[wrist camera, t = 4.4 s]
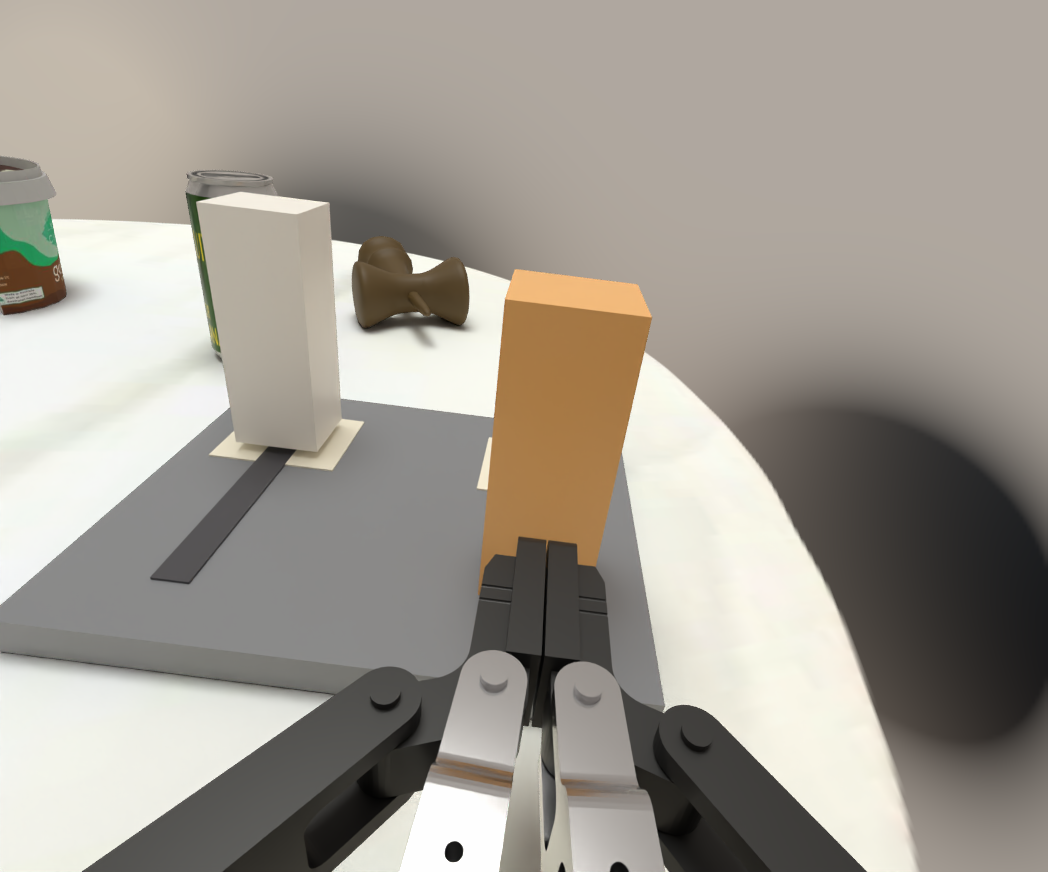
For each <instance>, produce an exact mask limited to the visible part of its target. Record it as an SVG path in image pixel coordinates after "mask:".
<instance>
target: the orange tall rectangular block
mask: <svg viewBox="0 0 1048 872" xmlns="http://www.w3.org/2000/svg"><path fill="white" fill-rule="evenodd" d="M651 320H652V316H651V314H650V312H649V310H648V307H647V305H646V303H645V300H644V298H643V296H642V293H641V291H640V289H639V287H638V285H637V284H630V283H622V282H614V281H605V280H598V279H590V278H582V277H574V276H566V275H557V274H550V273H542V272H533V271H526V270H517V269H515V271H514V274H513V277H512V280H511V283H510V286H509V289H508V292H507V295H506V298H505V305H504V316H503V327H502V337H501V348H500V359H499V370H498V381H497V392H496V402H495V413H494V424H493V435H492V446H491V456H490V467H489V478H488V489H487V500H486V511H485V521H484V532H483V543H482V554H481V565H480V576H479V586H478V595H480V591H481V586H482V579H483V574H484V568H485V566H486V565H487V564H488V563H489V561H490V560H491V559H492V558H493V557H494V555H495V554H499V555H507V556H515V557H516V551H517V544H518V537H519V536H520V537H528V538H536V539H544V540H546V550H547V544H548V540H553V541H561V542H569V543H576V544H577V555H578V564H579V565H587V566H595V567H596V563H597V559H598V554H599V550H600V546H601V541H602V537H603V532H604V528H605V523H606V519H607V515H608V510H609V506H610V501H611V497H612V492H613V488H614V484H615V479H616V475H617V470H618V466H619V461H620V457H621V453H622V448H623V444H624V439H625V435H626V430H627V426H628V422H629V417H630V413H631V408H632V404H633V399H634V395H635V391H636V386H637V382H638V377H639V373H640V368H641V364H642V360H643V355H644V351H645V346H646V342H647V337H648V333H649V328H650V324H651Z"/></svg>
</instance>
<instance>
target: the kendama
mask: <svg viewBox="0 0 1048 872" xmlns="http://www.w3.org/2000/svg"><path fill="white" fill-rule="evenodd" d="M412 272H413V267H412V262H411V259H410V258H409V256H408V255H407V253H406V252H405V250H404V248H403V247H402V245H401V243H399V242H398V241H396V240H394V239H393V238H389V237H384V236H379V237H373V238H370V239H369V240H367V241H365V242H364V243H363V244H362V246H361V248H360V250H359V255H358V261H357V262H355V263H354V265H353V270H352V292H353V301H354V306H355V312H356V315H357V318H358V321H359V323H360V325H361V326H362V327H363V328H369V327H372V326H374V325H376V324H377V323H379V322H381V321H383V320H385V319H386V318H389V317H391V316H393V315H396V314H400V313H408V312H420V313H421V314H422V315H424V316H426V317H428V316H430V315H431V313H432V314H434V315H437V316H439V317H441V318H443V319H445V320H447V321H449V322H451V323H454V324H456V325H462V324H463V323H464V322H465V320H466V318H467V314H468V309H469V284H468V277H467V273H466V270H465V267H464V265H463V263H462V262H461V261H460V259H459V258H455V257H451V258H449V259H447V260H445V261H444V262H442V263H441V264H439V265H438V266H436V267H434V268H433V269H431V270H429V271H427V272H424V273H420V274H412Z"/></svg>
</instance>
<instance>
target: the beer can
mask: <svg viewBox="0 0 1048 872" xmlns="http://www.w3.org/2000/svg"><path fill="white" fill-rule="evenodd" d="M187 178H188V179H189V183H188V186H187V189H186V191H185V192H186V198H187V203H188V209H189V215H190V221H191V227H192V232H193V238H194V244H195V250H196V255H197V261H198V267H199V273H200V278H201V284H202V290H203V296H204V302H205V307H206V313H207V319H208V325H209V330H210V336H211V342H212V347H213V349H214V350H215V352H216V353H217V354H218V356H219V357H220V358H221V359H222V355H221V349H220V343H219V337H218V331H217V325H216V319H215V313H214V307H213V301H212V295H211V288H210V282H209V276H208V270H207V264H206V258H205V252H204V246H203V240H202V234H201V228H200V222H199V216H198V210H197V204H196V202H198V201H202V200H207V199H211V198H215V197H220V196H224V195H229V194H233V193H237V192H246V193H254V194H262V195H270V196H278V194H277V192H276V190H275V189H274V187H273V185H272V184H273V179H272V177H270V176H267V175H262V174H256V173H250V172H241V171H240V172H239V171H226V170H197V171H190V172H187Z"/></svg>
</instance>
